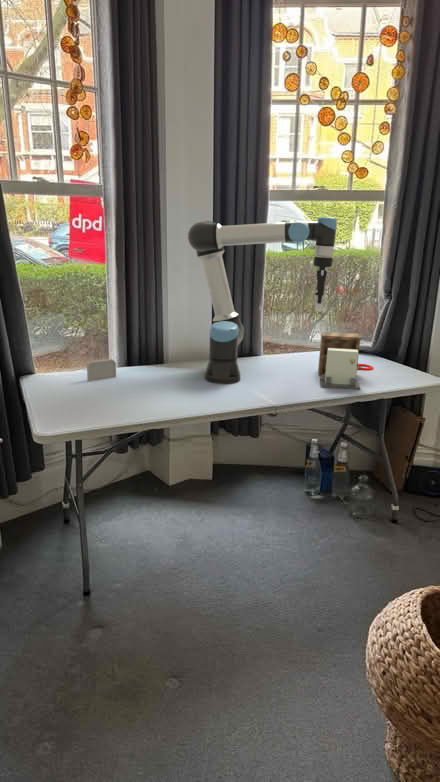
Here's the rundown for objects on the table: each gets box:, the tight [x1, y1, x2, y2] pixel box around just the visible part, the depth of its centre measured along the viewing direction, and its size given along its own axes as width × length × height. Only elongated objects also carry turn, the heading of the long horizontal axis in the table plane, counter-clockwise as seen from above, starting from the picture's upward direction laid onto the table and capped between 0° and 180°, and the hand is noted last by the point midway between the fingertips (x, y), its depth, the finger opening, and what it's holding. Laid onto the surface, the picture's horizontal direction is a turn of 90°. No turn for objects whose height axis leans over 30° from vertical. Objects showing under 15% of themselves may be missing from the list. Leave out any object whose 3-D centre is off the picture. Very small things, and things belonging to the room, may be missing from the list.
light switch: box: [86, 358, 117, 382], centre depth 235 cm, size 2×12×8 cm, turn 125°
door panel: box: [324, 348, 359, 385], centre depth 235 cm, size 12×5×14 cm, turn 83°
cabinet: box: [317, 331, 361, 377], centre depth 250 cm, size 16×8×18 cm, turn 83°
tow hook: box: [357, 345, 374, 371], centre depth 263 cm, size 8×13×9 cm
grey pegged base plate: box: [319, 372, 362, 391], centre depth 237 cm, size 16×10×4 cm, turn 83°
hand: (317, 308), depth 238 cm, fingers open, 13 cm apart
